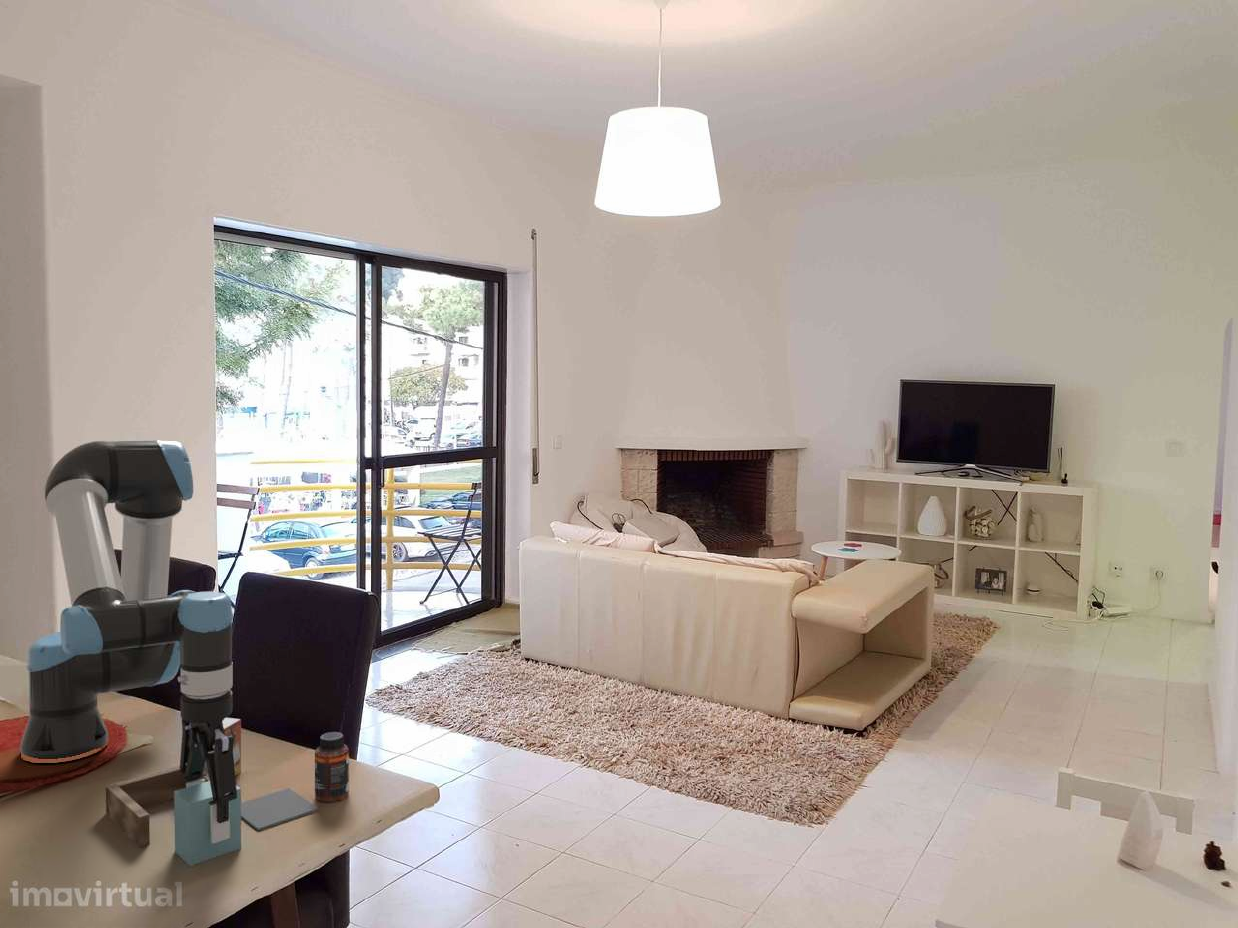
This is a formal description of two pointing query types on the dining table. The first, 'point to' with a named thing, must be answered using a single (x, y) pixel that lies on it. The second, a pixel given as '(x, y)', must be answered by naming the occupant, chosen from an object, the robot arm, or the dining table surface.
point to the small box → (234, 729)
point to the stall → (142, 800)
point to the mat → (275, 809)
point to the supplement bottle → (331, 768)
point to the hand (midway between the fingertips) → (207, 829)
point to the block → (202, 824)
